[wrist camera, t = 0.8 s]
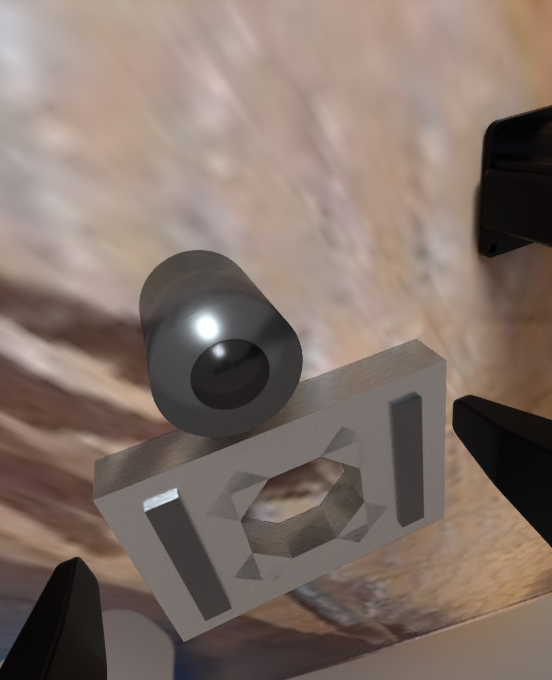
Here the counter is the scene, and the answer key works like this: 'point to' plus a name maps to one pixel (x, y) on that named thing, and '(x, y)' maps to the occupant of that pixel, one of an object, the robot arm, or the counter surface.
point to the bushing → (215, 346)
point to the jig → (273, 459)
